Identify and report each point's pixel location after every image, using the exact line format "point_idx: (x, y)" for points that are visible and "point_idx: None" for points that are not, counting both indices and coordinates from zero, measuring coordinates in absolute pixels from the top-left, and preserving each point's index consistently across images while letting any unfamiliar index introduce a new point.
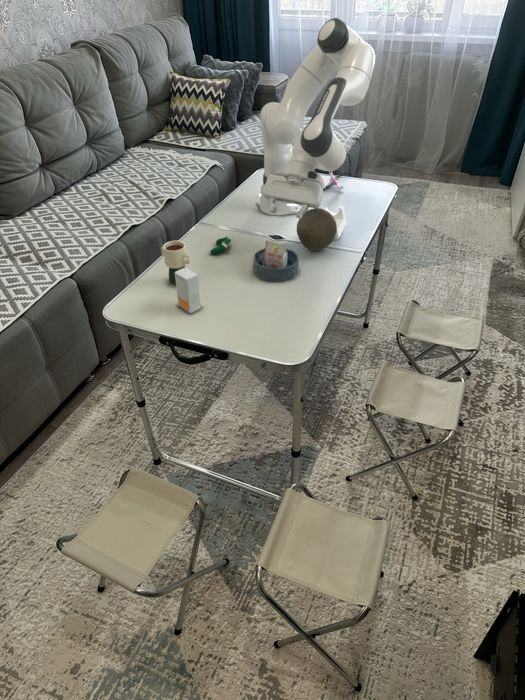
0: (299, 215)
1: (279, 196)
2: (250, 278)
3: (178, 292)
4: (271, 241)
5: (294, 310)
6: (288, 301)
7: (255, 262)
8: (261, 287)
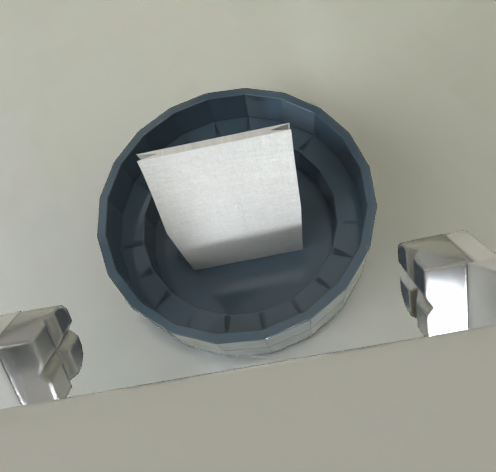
0: (12, 315)
1: (466, 336)
2: None
3: None
4: (249, 134)
5: (32, 62)
6: (74, 88)
7: (298, 100)
8: None
